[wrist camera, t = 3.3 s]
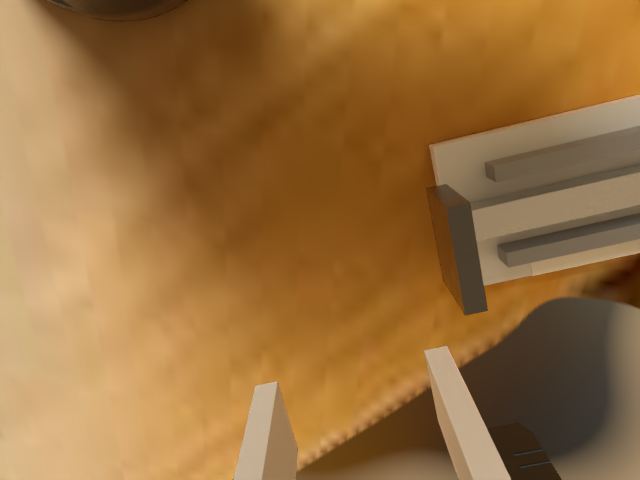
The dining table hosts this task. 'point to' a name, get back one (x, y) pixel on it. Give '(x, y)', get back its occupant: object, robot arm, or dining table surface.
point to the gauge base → (544, 169)
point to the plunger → (516, 221)
